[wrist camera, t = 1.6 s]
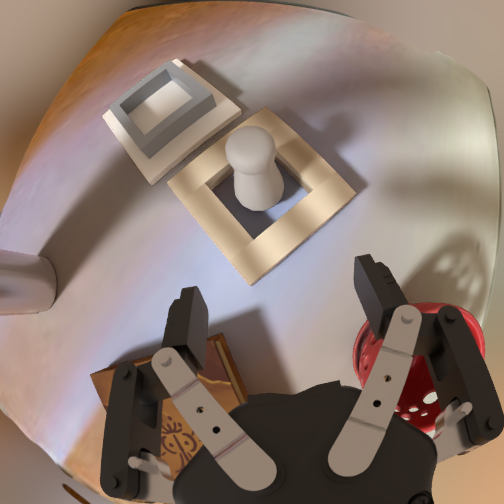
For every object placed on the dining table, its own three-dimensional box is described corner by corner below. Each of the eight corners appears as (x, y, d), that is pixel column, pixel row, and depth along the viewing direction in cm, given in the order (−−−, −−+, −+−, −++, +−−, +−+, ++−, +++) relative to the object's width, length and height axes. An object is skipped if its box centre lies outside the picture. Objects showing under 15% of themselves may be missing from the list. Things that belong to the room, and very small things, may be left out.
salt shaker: (258, 163, 34) (247, 103, 22) (293, 191, 34) (300, 138, 21) (227, 196, 34) (200, 148, 21) (262, 225, 33) (251, 188, 21)
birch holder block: (252, 285, 33) (249, 285, 30) (174, 190, 35) (166, 182, 32) (350, 200, 33) (356, 193, 30) (266, 118, 35) (265, 106, 32)
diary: (109, 366, 34) (85, 375, 28) (223, 332, 33) (212, 340, 27) (173, 487, 30) (161, 507, 24) (285, 471, 29) (285, 495, 24)
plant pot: (323, 343, 31) (347, 372, 19) (405, 278, 31) (459, 273, 19) (372, 415, 29) (406, 460, 17) (446, 353, 29) (499, 372, 17)
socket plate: (152, 185, 36) (139, 174, 31) (105, 119, 38) (93, 107, 34) (242, 114, 36) (238, 96, 31) (178, 62, 38) (171, 47, 34)
